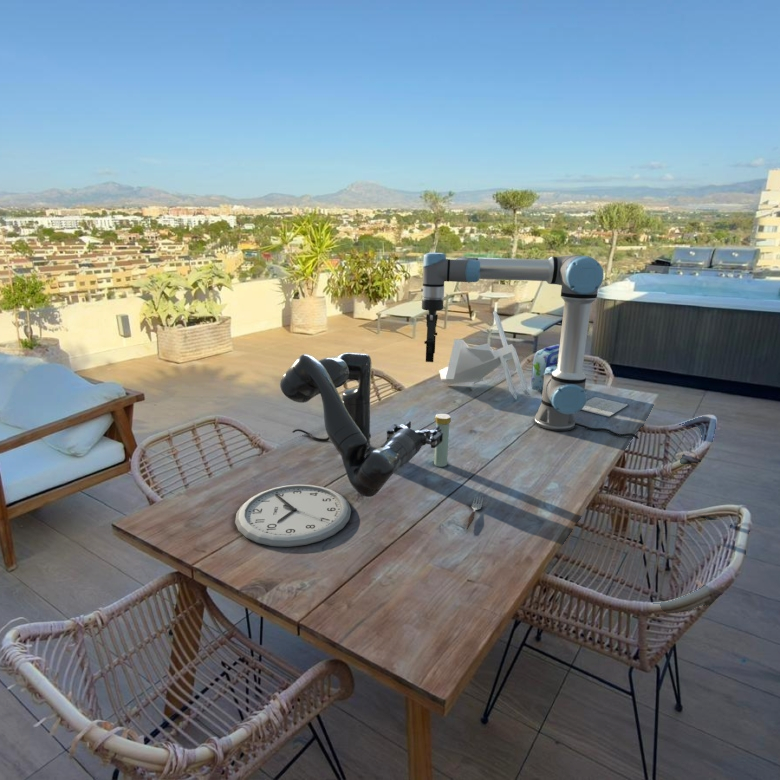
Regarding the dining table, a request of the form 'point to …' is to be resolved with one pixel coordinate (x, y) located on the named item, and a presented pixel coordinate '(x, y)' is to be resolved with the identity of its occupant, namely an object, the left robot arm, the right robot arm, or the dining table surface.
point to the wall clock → (293, 515)
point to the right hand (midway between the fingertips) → (430, 357)
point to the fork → (475, 507)
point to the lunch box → (543, 365)
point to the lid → (443, 419)
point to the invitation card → (603, 406)
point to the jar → (442, 447)
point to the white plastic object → (482, 362)
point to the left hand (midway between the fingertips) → (424, 426)
